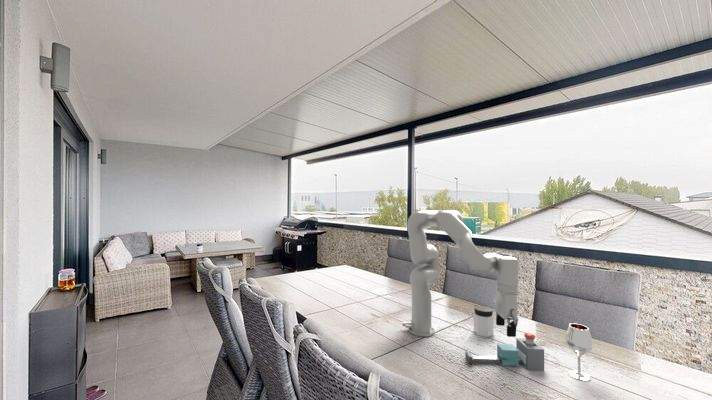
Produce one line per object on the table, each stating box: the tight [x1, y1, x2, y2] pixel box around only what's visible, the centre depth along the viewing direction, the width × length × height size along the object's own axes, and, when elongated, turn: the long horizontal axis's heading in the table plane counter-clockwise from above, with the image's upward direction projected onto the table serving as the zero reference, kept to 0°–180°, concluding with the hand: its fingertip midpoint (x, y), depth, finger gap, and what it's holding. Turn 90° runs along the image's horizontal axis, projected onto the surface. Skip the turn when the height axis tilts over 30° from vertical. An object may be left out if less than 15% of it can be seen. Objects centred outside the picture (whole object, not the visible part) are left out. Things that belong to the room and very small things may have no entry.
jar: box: [473, 305, 495, 338], centre depth 143 cm, size 9×8×12 cm
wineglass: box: [564, 323, 594, 382], centre depth 108 cm, size 8×8×18 cm
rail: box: [464, 350, 524, 366], centre depth 116 cm, size 21×5×3 cm, turn 87°
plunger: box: [523, 332, 536, 346], centre depth 116 cm, size 4×4×5 cm
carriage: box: [496, 343, 520, 367], centre depth 116 cm, size 6×5×6 cm
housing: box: [515, 337, 545, 372], centre depth 116 cm, size 6×9×8 cm
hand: (505, 330), depth 117 cm, fingers open, 9 cm apart
